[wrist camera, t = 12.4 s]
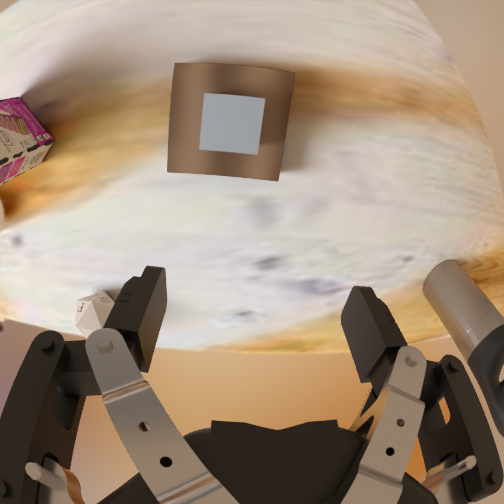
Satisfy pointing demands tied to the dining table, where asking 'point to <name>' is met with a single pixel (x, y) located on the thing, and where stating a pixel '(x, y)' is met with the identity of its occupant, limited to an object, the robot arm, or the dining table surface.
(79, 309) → the die
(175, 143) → the walnut block
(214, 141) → the slate cube
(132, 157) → the dining table surface
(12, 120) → the candy bar box
